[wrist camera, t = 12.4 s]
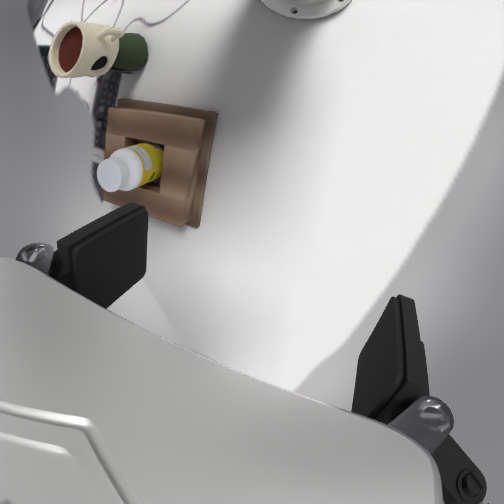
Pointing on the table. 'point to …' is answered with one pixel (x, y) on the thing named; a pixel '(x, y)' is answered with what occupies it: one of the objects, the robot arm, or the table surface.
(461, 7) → the table surface
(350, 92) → the table surface
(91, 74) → the character mug
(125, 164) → the supplement bottle
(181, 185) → the bottle holder
